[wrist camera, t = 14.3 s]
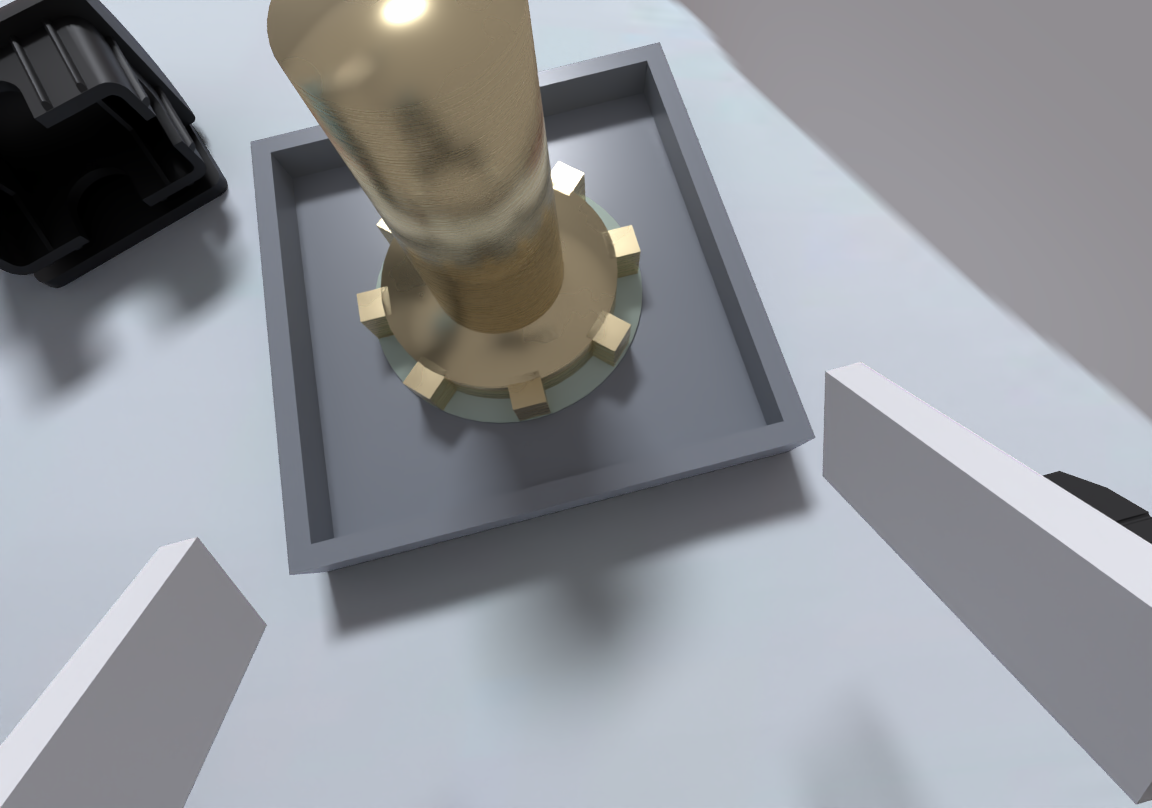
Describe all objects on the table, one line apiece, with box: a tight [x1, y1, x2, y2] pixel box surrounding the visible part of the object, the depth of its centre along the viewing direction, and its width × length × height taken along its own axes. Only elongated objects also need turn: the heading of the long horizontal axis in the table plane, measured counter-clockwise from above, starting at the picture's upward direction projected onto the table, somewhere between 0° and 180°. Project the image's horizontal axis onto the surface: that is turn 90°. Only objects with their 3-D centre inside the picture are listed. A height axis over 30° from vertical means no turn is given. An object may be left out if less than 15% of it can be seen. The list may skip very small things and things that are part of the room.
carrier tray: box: [251, 42, 815, 575], centre depth 21 cm, size 18×18×2 cm
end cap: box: [0, 0, 228, 288], centre depth 21 cm, size 10×7×7 cm
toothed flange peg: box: [267, 0, 641, 421], centre depth 15 cm, size 11×11×12 cm
